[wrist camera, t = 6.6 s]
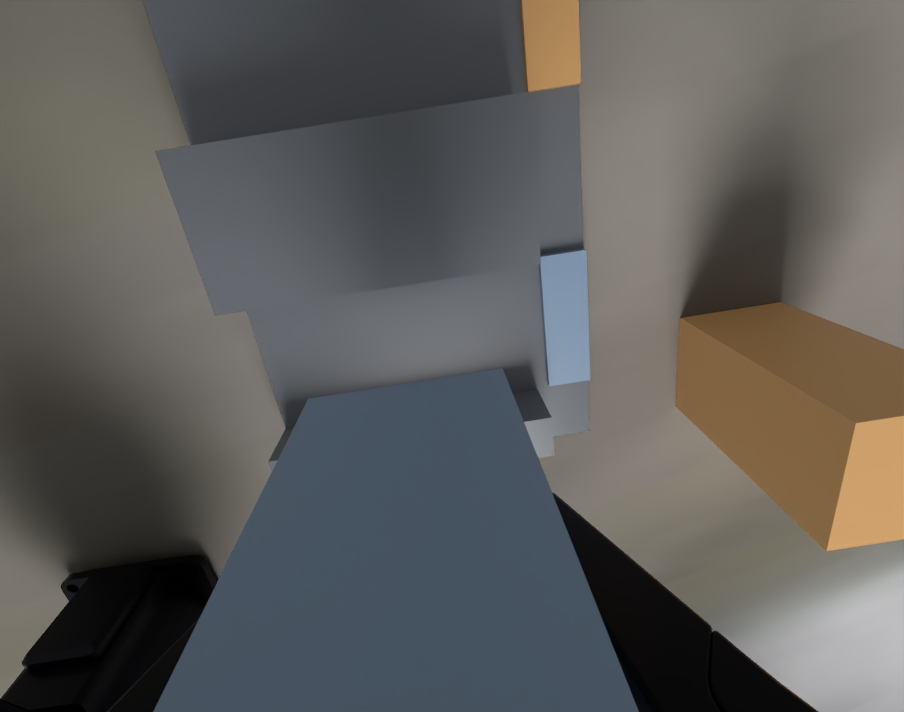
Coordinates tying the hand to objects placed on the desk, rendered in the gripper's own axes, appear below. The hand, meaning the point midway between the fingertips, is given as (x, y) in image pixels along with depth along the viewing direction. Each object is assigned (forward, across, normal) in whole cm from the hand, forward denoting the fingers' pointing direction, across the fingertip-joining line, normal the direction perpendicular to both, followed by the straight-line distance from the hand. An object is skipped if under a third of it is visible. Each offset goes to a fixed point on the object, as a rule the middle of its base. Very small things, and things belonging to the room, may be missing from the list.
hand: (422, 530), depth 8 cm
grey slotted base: (+10, 0, -5) cm, 11 cm away
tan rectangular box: (+10, -12, +3) cm, 16 cm away
